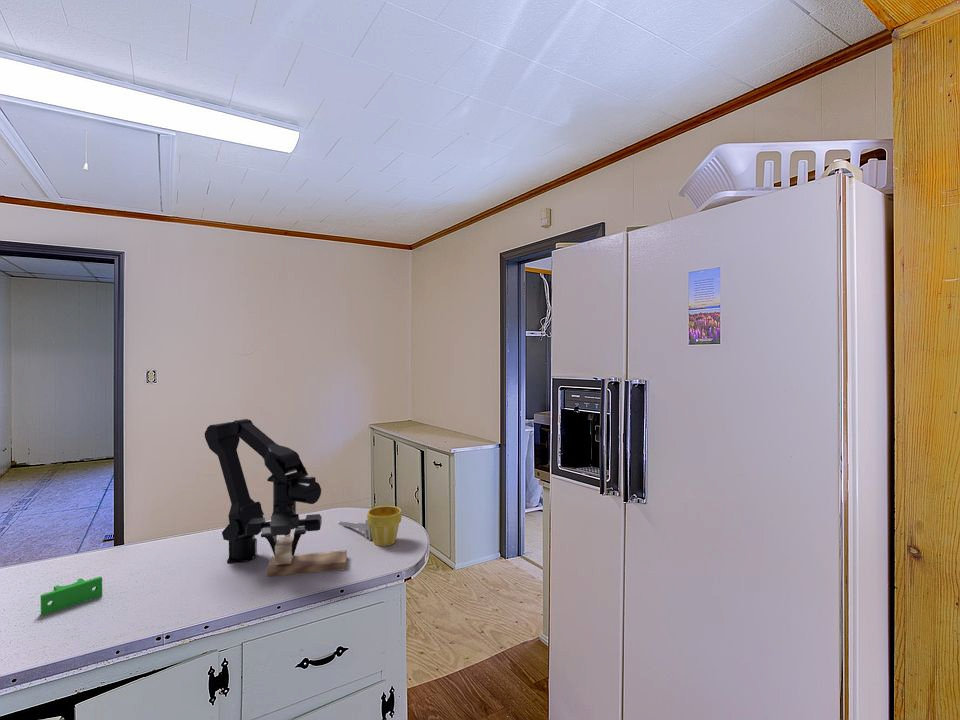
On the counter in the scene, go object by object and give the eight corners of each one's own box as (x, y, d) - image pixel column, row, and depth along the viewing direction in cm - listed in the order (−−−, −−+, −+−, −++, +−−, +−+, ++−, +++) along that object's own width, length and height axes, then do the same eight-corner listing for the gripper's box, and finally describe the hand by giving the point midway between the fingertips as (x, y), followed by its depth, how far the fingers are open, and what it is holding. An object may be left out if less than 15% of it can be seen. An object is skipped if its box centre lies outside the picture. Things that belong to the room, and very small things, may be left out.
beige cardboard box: (274, 564, 131) (274, 546, 131) (280, 551, 140) (280, 533, 140) (290, 563, 132) (290, 544, 132) (295, 550, 141) (295, 532, 141)
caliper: (372, 540, 155) (372, 520, 155) (369, 541, 154) (369, 521, 154) (341, 523, 170) (341, 505, 170) (338, 524, 169) (338, 506, 169)
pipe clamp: (96, 592, 122) (96, 573, 121) (102, 596, 119) (102, 577, 119) (36, 611, 112) (36, 591, 112) (42, 616, 110) (42, 595, 110)
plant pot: (370, 551, 147) (370, 518, 146) (364, 538, 156) (364, 507, 156) (404, 546, 151) (404, 514, 150) (397, 534, 160) (397, 504, 160)
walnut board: (266, 576, 130) (266, 568, 130) (272, 563, 138) (272, 556, 138) (345, 569, 134) (345, 561, 134) (346, 557, 142) (346, 550, 142)
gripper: (240, 510, 124) (240, 572, 124) (318, 505, 128) (318, 565, 129) (249, 497, 135) (250, 554, 135) (321, 493, 139) (321, 548, 140)
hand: (284, 555), depth 134 cm, fingers closed on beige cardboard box, 4 cm apart
